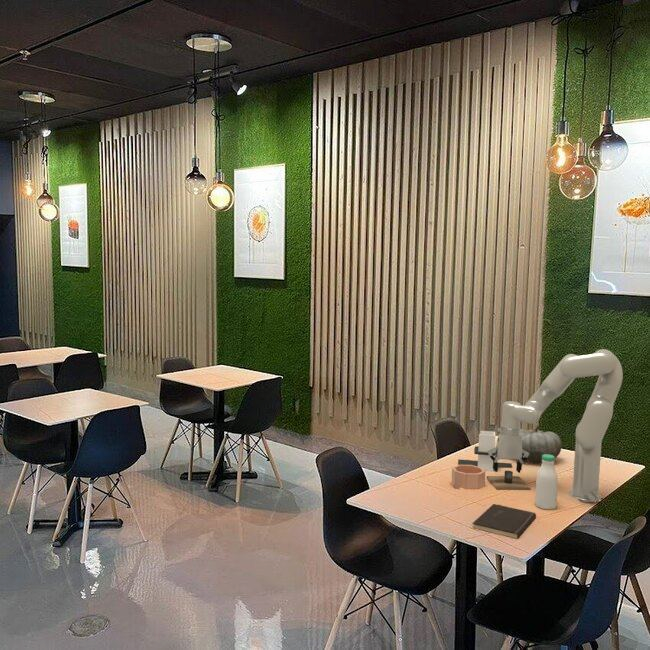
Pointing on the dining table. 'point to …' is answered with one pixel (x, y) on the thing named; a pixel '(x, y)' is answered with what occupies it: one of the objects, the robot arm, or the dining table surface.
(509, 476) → the walnut lid
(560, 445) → the gourd
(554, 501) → the milk bottle
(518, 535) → the hardcover book
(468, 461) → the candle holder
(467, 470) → the terracotta bowl
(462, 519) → the dining table surface
